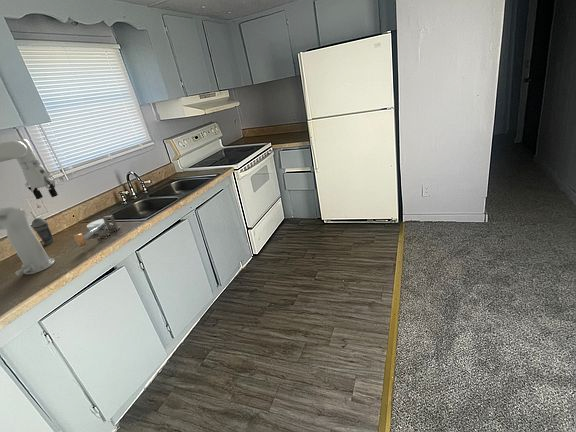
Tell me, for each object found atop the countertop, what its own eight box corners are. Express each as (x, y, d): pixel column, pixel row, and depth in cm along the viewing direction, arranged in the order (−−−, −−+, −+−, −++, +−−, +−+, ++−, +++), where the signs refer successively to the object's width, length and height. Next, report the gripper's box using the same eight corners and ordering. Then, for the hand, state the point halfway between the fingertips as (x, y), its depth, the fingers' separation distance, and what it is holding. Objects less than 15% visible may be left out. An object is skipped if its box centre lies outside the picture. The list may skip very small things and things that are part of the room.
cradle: (105, 238, 167) (102, 230, 166) (98, 239, 168) (94, 231, 167) (110, 234, 171) (107, 227, 169) (103, 235, 172) (99, 228, 170)
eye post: (115, 231, 174) (108, 217, 170) (107, 232, 175) (100, 218, 172) (120, 227, 178) (114, 214, 175) (112, 228, 180) (106, 214, 176)
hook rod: (83, 246, 154) (77, 236, 152) (77, 247, 155) (72, 236, 152) (110, 228, 172) (105, 219, 169) (104, 229, 173) (100, 219, 170)
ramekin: (88, 236, 175) (84, 228, 173) (92, 229, 185) (89, 221, 183) (108, 231, 177) (105, 223, 175) (112, 224, 187) (109, 216, 185)
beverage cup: (49, 245, 173) (31, 213, 165) (39, 246, 175) (21, 215, 167) (60, 239, 179) (43, 208, 171) (50, 239, 181) (33, 209, 173)
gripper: (50, 160, 151) (66, 192, 158) (23, 165, 155) (40, 196, 162) (37, 165, 144) (54, 198, 151) (9, 169, 148) (27, 201, 155)
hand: (47, 197), depth 157 cm, fingers open, 9 cm apart
